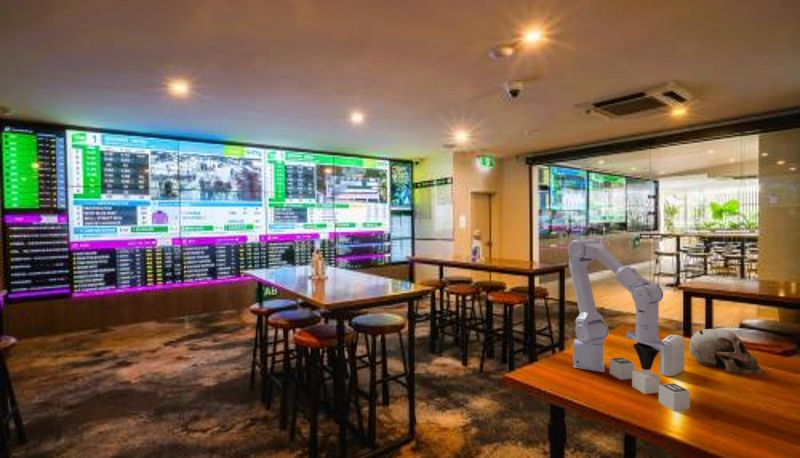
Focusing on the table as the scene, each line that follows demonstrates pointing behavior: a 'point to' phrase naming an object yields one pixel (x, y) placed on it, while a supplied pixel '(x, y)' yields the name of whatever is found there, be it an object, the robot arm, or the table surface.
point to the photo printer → (673, 356)
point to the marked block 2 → (674, 397)
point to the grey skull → (723, 351)
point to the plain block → (645, 381)
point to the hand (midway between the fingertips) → (646, 368)
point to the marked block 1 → (621, 368)
